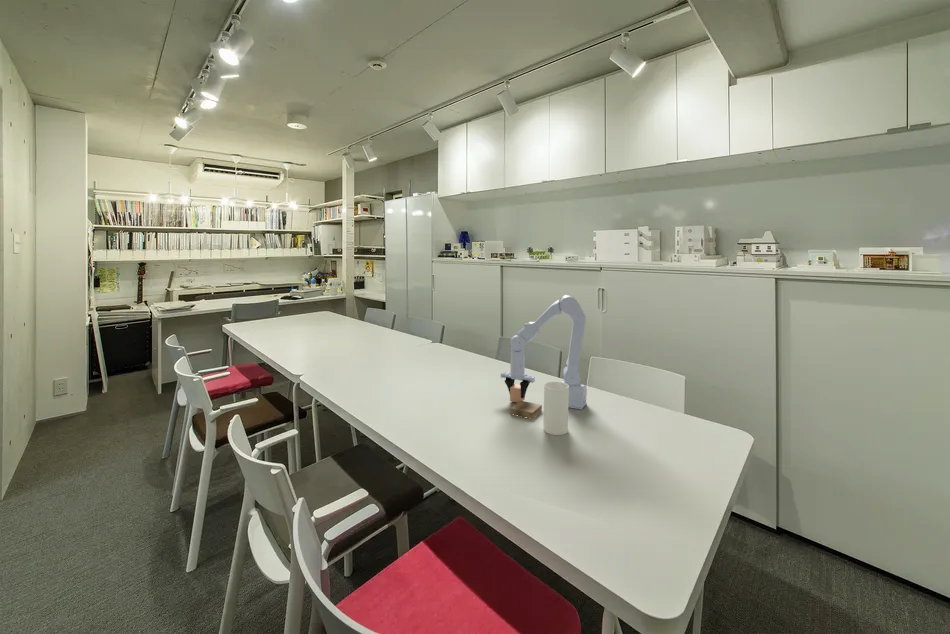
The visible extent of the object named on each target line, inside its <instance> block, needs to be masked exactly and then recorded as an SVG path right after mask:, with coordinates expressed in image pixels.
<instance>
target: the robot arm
mask: <svg viewBox="0 0 950 634" xmlns="http://www.w3.org/2000/svg"><path fill="white" fill-rule="evenodd" d="M562 313H564V314H566V315H568V316H569V317H570V318H571V320H572V326H571V334H570V340H569V348H568V354H567V359H566V363H565V366H564V367H563V368H562V374H563V380H562V381H561V382H562V383H565V384H567V385H569V401H568V408H569V409H570V408H571V409H576V410H582V409H583V408H584V407H585V406H586V405H587V404H588V403H587V394H588V393H587V390H588V389H587V385H586V384H583V383H581V379H582V378H581V373H580V360H581V355H582V354H581V353H582V347H583V340H584V334H585V328H586V321H587V316H586V314H585V313H584V311H583V309H582V307H581V305H580V303H579V302H578V300H577V299H576V298H575V297H574V296H572V295H571V294H564V295H562V296H561V297H560V298H559V299H557V300H556V301H554V302H553V303H552V304H551V305H549V307H547V309H545V311H544V312H543V313H542V314H540V315H539V316H538V317H537V318H536V320H535V321H528V323H527V322H525V323H524V325H523V327H522V328H521V329H520V330H519V331H516V332H515V335H513V336H512V337H511V339H510V341H509V345H510V357H509V358H510V361H509V362H510V372H509V371H508V372H505V371H502V372H501V373H500V379H503V378H504V383H505V385H506V387H507V390H508V393H509V394H510V387H511V386H513V385H514V384H515V380H517V381H519V385H520V386H521V398H524V397H525V398H526V393H527V390H528V387H529V385H530V384H531V383H532V384H533V383H535V382H536V378H535V376H532V375H528V374H526V373H525V368H526V367H525V365H526V364H525V358H526V357H525V347H526V344H528V343H530V342H531V340H533V339H534V338H535V337H536V336H537V335H538V334H539V333H540V328H541V327H543V326H544V324H546V323H547V322H548V321H549V320H550V319H551V318H553V317H554V316H557V315H562Z"/></svg>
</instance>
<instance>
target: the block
mask: <svg viewBox="0 0 950 634" xmlns="http://www.w3.org/2000/svg"><path fill="white" fill-rule="evenodd" d="M525 398H526V396H525V397H524V398H521V386H520V384H516V383H514V385H513V386H511V387H510V393H509V402H513V403H516V404H517V403H518V402H519V401H525Z"/></svg>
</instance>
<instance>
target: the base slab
mask: <svg viewBox="0 0 950 634" xmlns="http://www.w3.org/2000/svg"><path fill="white" fill-rule="evenodd" d="M542 408H543V405H542V404H540V403H539V404H538V403H534V402H529V401H525V400H524V401H519V402H518V403H517V402H516V403H515V404H514V405H513V406H511V407H510V413H509V414H514V415H513V416H515V415H518V416H517V417H519V416H522V417H521V418H524V417H527V418H526V419H529V418H531V419H530V420H533V419H534V417H535V416H536V415H537V414H538V413H539V414H541V413H542V412H543V409H542ZM539 414H538V415H539ZM538 415H537V416H538ZM537 416H536V417H537ZM536 417H535V418H536Z"/></svg>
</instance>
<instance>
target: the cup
mask: <svg viewBox="0 0 950 634" xmlns="http://www.w3.org/2000/svg"><path fill="white" fill-rule="evenodd" d="M543 387H544V389H543V431H544V432H545V433H547V434H549V435H553V436H562V435H565V434H567V433H568V430H569V427H568V426H569V407H568V401H569V385H567V384H565V383H562V381H550V382H545V383H544V385H543Z"/></svg>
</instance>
